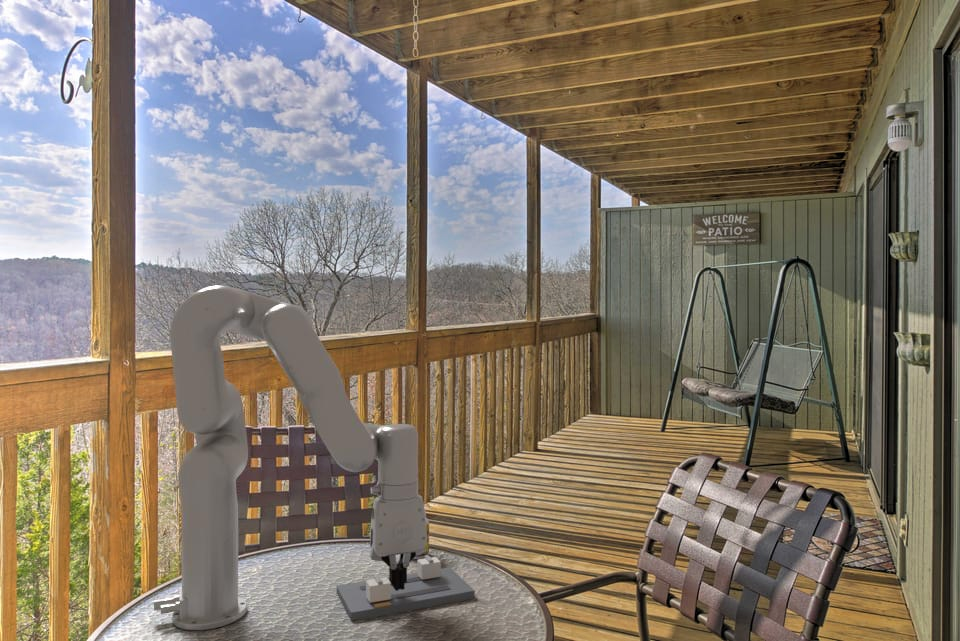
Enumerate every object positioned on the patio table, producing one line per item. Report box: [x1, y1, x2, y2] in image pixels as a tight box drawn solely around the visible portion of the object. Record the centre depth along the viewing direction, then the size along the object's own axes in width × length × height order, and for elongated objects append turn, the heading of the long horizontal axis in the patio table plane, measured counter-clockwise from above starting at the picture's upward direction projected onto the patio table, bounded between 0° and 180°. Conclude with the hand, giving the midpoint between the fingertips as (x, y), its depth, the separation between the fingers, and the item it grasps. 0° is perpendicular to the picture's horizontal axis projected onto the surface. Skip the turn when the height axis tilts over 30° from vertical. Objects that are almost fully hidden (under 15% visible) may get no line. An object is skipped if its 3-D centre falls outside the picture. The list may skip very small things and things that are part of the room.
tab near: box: [365, 574, 391, 603], centre depth 123 cm, size 4×3×4 cm
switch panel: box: [336, 567, 476, 622], centre depth 128 cm, size 24×13×2 cm, turn 114°
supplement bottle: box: [413, 510, 430, 560], centre depth 150 cm, size 6×6×10 cm
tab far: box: [416, 554, 442, 580], centre depth 133 cm, size 4×3×4 cm
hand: (398, 587), depth 124 cm, fingers closed
